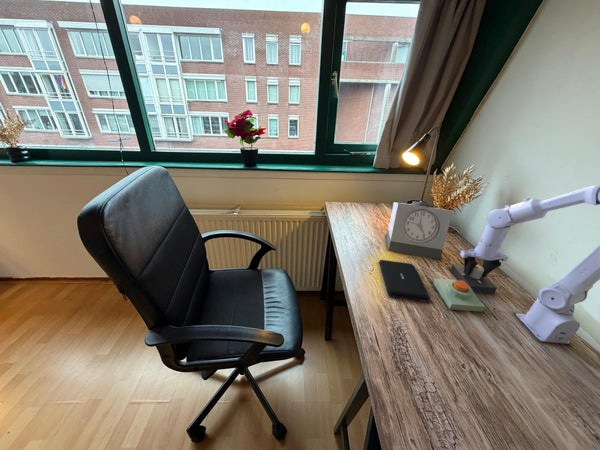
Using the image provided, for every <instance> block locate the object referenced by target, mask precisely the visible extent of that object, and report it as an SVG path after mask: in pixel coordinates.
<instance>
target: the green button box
mask: <svg viewBox="0 0 600 450" xmlns="http://www.w3.org/2000/svg"><path fill="white" fill-rule="evenodd" d="M456 280H457V279H449V278H437V277H436V278H434V280H433V282H432V284H433V285H434V287H435V289H436V290H437V292H438V293H439V295H440V296H441V298H442V300H443V301H444V303H445V304H446V306H447V307H448V309H449V310H455V311H457V310H458V311H468V312H481V313H482V312H483V311H484V309H485V308H486V307H485V304H484V303H482V301H481V300H480V299H479V297H478V296H477V295H476V294H475V292H473V290H472V289H471V288H470V286H469V288H468V290H467V292H460V291H458V290H456V289H455V288H454V287H453V284H454V282H455V281H456ZM461 281H463V280H461ZM464 282H465V281H464Z"/></svg>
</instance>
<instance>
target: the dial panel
mask: <svg viewBox="0 0 600 450" xmlns="http://www.w3.org/2000/svg"><path fill="white" fill-rule="evenodd" d="M450 271H451V272H452V273H453V275H454V277H456V279H457V280H463V281H465V283H467V284H468V285H469V286H470V288H471V289H472V290H473V293H480V294H481V293H483V294H495V293H496V291H497V289H498V287H497V286H496V285H495V283H493V281H491V280H490V279H489V277H488V276H487V275H486V276H485V277H482V276H481V277H480V279H475V278H472V277H470V276H466V275H465V273H464V264H452V265H451V267H450Z"/></svg>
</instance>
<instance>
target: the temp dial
mask: <svg viewBox="0 0 600 450" xmlns="http://www.w3.org/2000/svg"><path fill="white" fill-rule="evenodd" d="M483 272H484V268H483V267H482V266H481V265H479V264H477V265H476V266H475V267H474V268H473V270H472V271H471V273H470V275H469V276H470V277H472V278H475V279H480V277H481V276H482V274H483Z"/></svg>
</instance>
